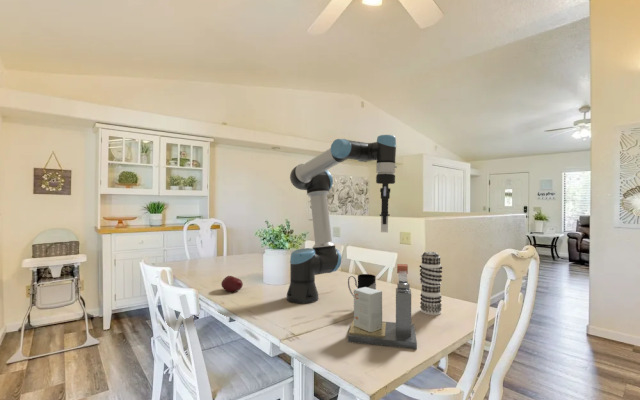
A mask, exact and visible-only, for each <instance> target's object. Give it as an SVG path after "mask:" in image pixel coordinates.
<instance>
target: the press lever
mask: <svg viewBox="0 0 640 400" xmlns="http://www.w3.org/2000/svg"><path fill="white" fill-rule="evenodd" d="M408 269H409V266H408V264H406V263H405V264H403V263H397V264H396V273H397V274H398V282H397V284H396V285H397V287H396V288H397V290H410V289H411V288H410V283H408V274H409V272H408Z"/></svg>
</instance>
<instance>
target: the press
mask: <svg viewBox="0 0 640 400" xmlns="http://www.w3.org/2000/svg"><path fill="white" fill-rule="evenodd" d="M416 335H417V334H416V327H415V324H414V323H412V290H411V288H410V290H397V287H396V288H395V322H392V321H383V320H382V328H381V329H379V330H376V331H374V332H371V333H370V332H368V331H365V330H363V329H360V328H358V327H356V326H354V319H353V320H352V323H351V325H350V327H349V330H348V335H347V342H348V343H352V342H353V344H365V345H372V346H373V345H374V346H382V347H391V348H400V349H401V348H403V349H410V350H411V349H412V350H417V349H418V342H417V336H416Z"/></svg>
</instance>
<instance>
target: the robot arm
mask: <svg viewBox="0 0 640 400" xmlns="http://www.w3.org/2000/svg"><path fill="white" fill-rule="evenodd" d="M396 139H397V138H396V136H395V135H393V134H381V135H378V136H377V139H376V141H375V142H363V141H356V140H350V139H345V138H337V139H334V140H333V141H332V143H331V144H330V148H329V149H327V150H325V151H323V152H321V153H320V154H318V155H317V156H315V157H313V158H312V159H310V160H308V161H307V162H305V163H299V164H297V165H296V166H295V167H293V168H292V169H291V171H290V176H289V180H290V183H291V185H292V186H293V187H294V188H296V189H298V190H300V191H306V195H307V196H308V197H309V198H310V206H311V207H310V208H311V216H312V228H313V238H314V245H313V246H312V247H310V248H308V247H307V248H299V249H296V250H294V251H292V252H291V253H290V258H289V259H290V260H289V264H290V269H289V270H290V273H289V274H290V275H289V277H290V280H289V281H290V282H289V286H288V290H287V292H286V300H287V301H288V302H290V303H293V304H294V303H295V304H309V303H315V302H316V301H318V300H319V292H318V290H317V286H316V281H315V279H316V278H315V277H316V275H317V276H318V275H323V274H331V273H333V272H337V270H339V268H340V267H341V265H342V254H341V252H340V250H338V249H337V247H336V244H335V243H333V241H332V231H331V223H330V222H331V221H330V215H329V213H330V212H329V204H328V196H329V194H330V190H331V189H332V187H333V184H334V182H333V181H334V180H333V176H332V174H331V173H330V171H329V170H330V169H331V168H334V167H335V166H337V165H339V164H340V163H344V162H345V161H347V160H356V161H358V162H364V163H366V162H372V161H373V162H374V161H376V163H375V164H376V165H375V166H376V168H375V170H376V171H375V173H377V174H376V176H375V180H376V181H375V182H376V184H378V185H379V184H380V185H381V188H380V190H379V192H380V199H381V214H379V217H380V233H388V232H389V217H390V215H391V214H389V199H390V198H391V197H390V196H391V195H390V193H391V188H390V187H389V185H393V184H394V185H395V183H396V174H395V173H396V169H397V168H398V165H396V156H397V155H396V153H397V140H396Z"/></svg>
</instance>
